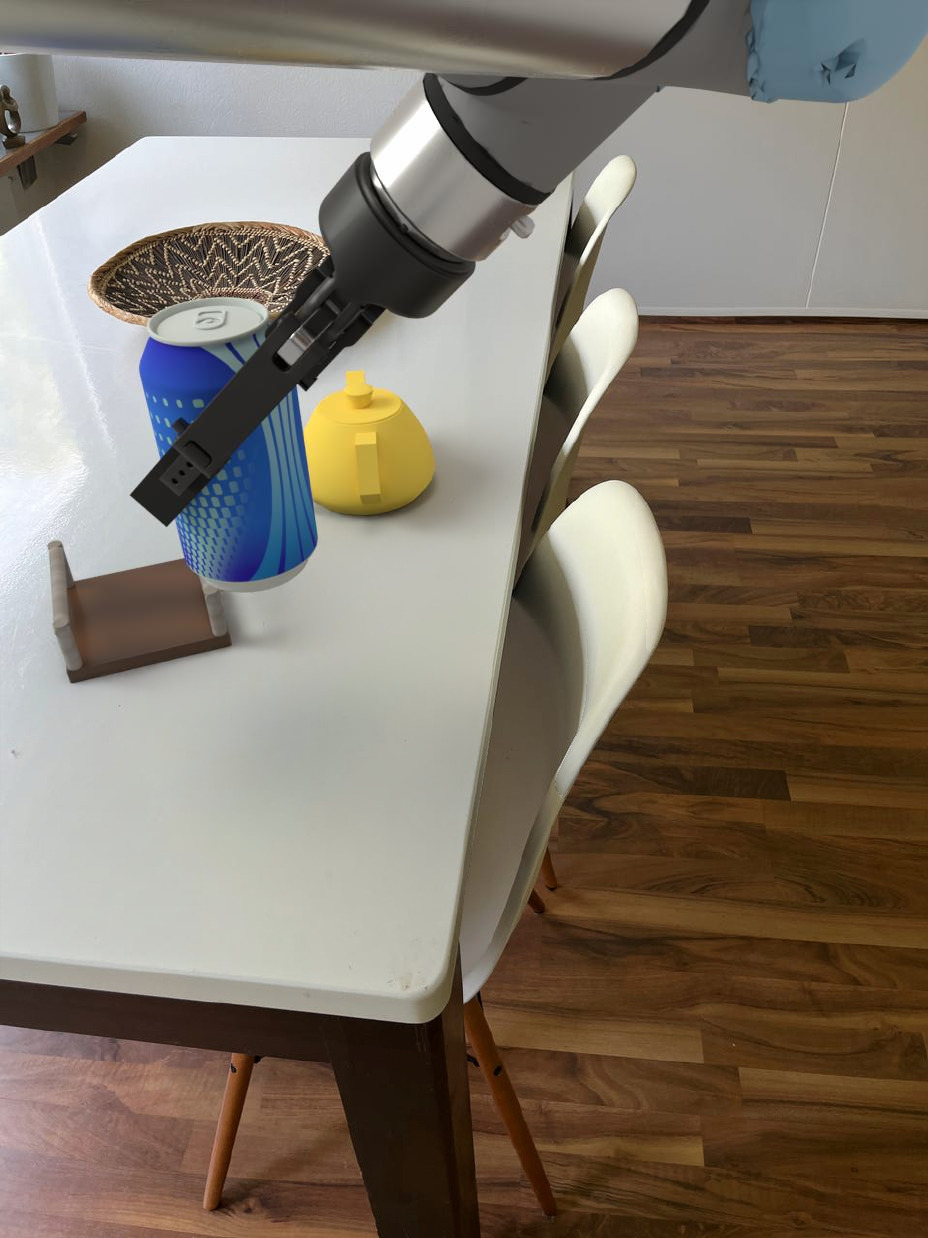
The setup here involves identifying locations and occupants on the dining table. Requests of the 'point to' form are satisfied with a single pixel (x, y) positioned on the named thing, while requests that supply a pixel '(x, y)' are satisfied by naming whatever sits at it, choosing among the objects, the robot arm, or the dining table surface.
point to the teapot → (366, 450)
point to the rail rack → (132, 616)
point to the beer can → (258, 469)
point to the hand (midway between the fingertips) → (188, 469)
